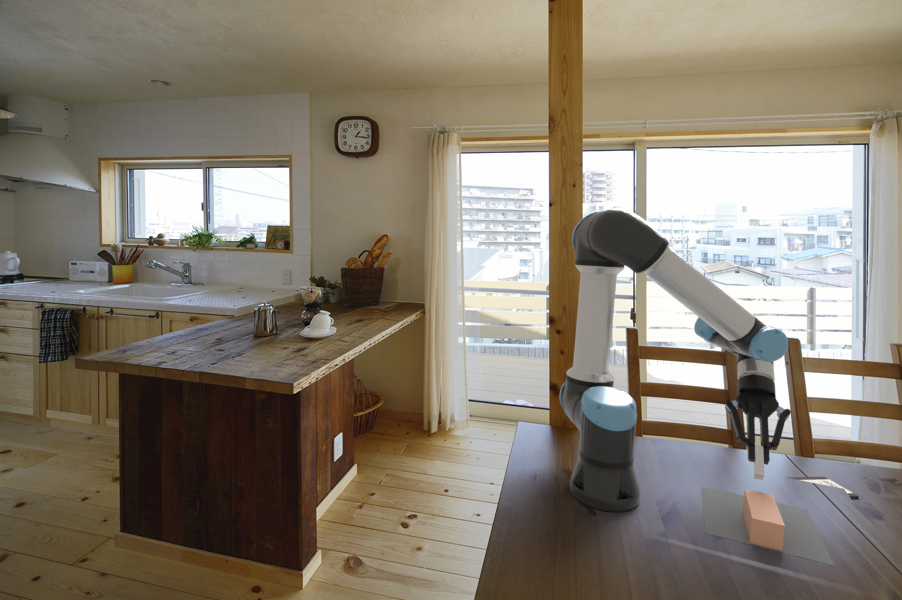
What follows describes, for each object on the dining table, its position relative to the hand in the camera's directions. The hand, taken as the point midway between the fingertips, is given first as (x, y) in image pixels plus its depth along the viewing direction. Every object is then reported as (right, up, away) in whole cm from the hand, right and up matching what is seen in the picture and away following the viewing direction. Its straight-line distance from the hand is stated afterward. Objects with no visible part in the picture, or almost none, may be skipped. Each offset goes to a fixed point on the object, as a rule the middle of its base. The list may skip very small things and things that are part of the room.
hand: (759, 476), depth 98 cm
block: (-2, -5, -2) cm, 5 cm away
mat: (-3, -8, -4) cm, 9 cm away
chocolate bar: (+18, -7, +10) cm, 22 cm away
